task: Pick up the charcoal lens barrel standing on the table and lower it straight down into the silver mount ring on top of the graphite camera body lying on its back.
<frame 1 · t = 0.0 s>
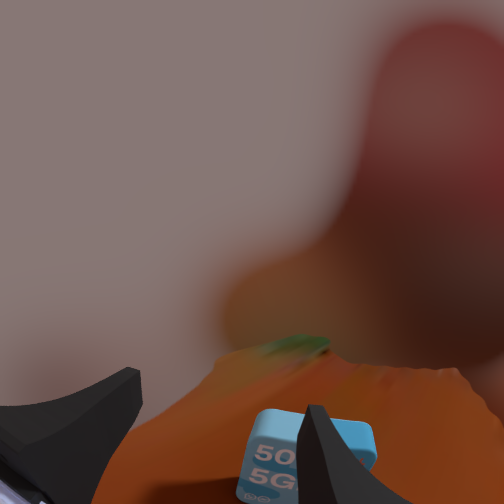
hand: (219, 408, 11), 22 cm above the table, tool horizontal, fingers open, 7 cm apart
data package: (289, 498, 24), on the table
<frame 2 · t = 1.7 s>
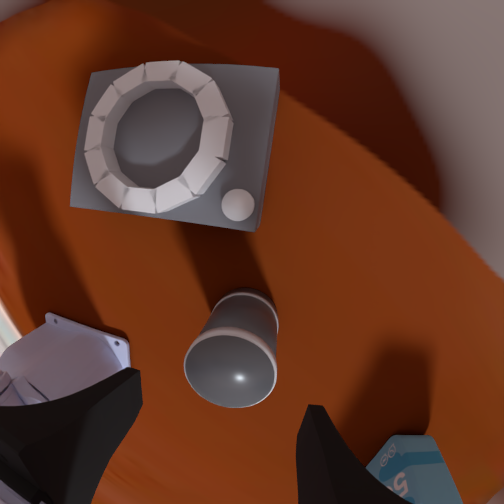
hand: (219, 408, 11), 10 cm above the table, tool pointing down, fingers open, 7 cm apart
lens: (246, 317, 20), on the table
data package: (383, 463, 23), on the table
camera body: (179, 145, 18), on the table
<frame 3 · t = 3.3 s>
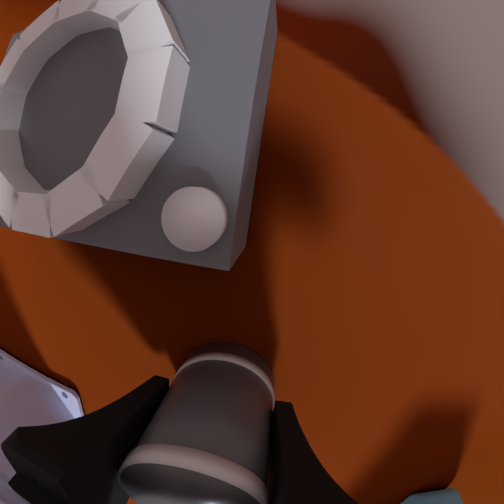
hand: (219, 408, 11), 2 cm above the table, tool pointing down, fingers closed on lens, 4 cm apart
lens: (227, 382, 13), on the table, touching gripper
camera body: (122, 122, 11), on the table
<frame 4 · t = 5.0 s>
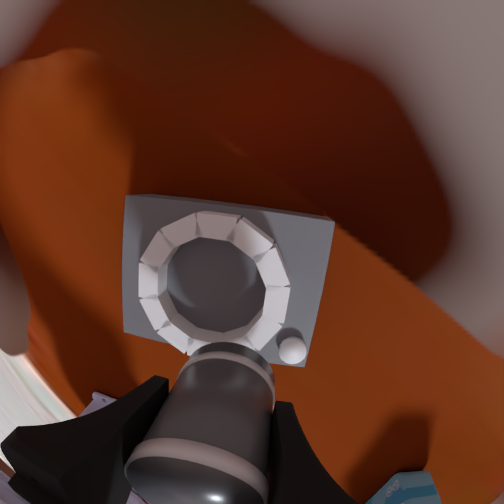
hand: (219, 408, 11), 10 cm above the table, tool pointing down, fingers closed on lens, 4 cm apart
lens: (228, 380, 13), point 8 cm above the table, touching gripper
data package: (388, 491, 24), on the table
camera body: (226, 269, 20), on the table
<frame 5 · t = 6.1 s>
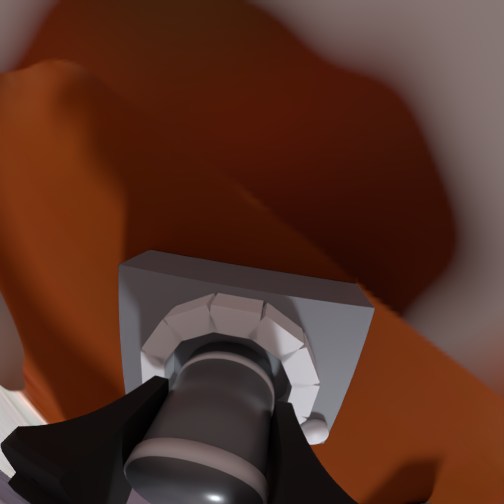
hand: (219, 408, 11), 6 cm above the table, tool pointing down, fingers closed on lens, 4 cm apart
lens: (228, 380, 13), point 4 cm above the table, touching gripper
camera body: (240, 338, 17), on the table
when the fingers open (6 cm above the table, at t = 7.0 s): lens stays where it is, resting on camera body.
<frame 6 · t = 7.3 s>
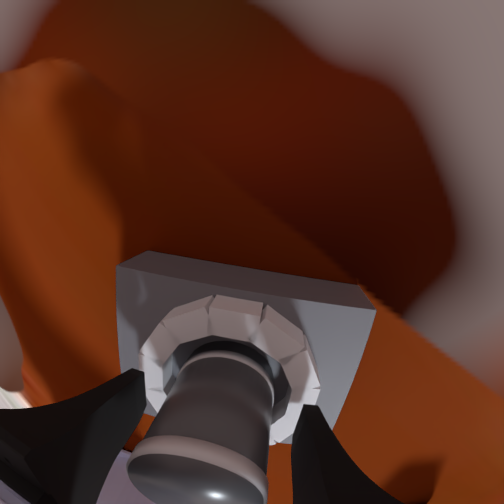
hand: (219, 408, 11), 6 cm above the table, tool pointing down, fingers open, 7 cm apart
lens: (228, 378, 13), point 4 cm above the table, touching camera body
camera body: (239, 340, 17), on the table
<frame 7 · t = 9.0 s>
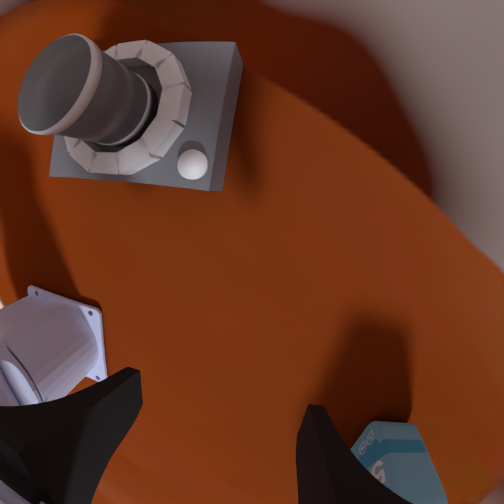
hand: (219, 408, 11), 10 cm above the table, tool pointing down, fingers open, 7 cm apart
lens: (125, 111, 15), point 4 cm above the table, touching camera body
data package: (364, 453, 23), on the table
camera body: (150, 119, 18), on the table
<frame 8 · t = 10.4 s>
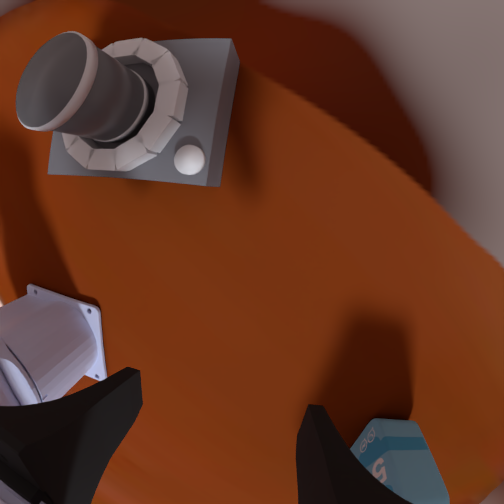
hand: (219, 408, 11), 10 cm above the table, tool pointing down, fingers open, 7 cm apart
lens: (122, 109, 15), point 4 cm above the table, touching camera body
data package: (365, 451, 23), on the table
camera body: (148, 117, 18), on the table
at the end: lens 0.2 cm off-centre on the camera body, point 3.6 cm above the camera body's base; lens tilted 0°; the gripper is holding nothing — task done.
